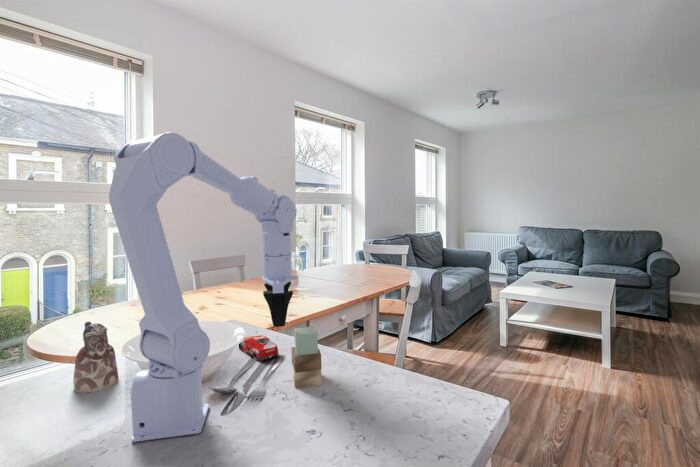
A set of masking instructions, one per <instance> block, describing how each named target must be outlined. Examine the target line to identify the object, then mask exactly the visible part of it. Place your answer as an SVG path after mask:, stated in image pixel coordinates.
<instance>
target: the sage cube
mask: <svg viewBox="0 0 700 467" xmlns="http://www.w3.org/2000/svg"><path fill="white" fill-rule="evenodd" d="M293 331H294V334H293V335H294V347H295V350H296V355H297V356H299V355H308V354H317V353H318V349H319V345H318V344H319V343H318V342H319V341H318V340H319V339H318V338H319V337H318V331H317V329H316V326H307V327H306V326H305V327H295V328H294V330H293Z"/></svg>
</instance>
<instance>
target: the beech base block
mask: <svg viewBox="0 0 700 467" xmlns="http://www.w3.org/2000/svg"><path fill="white" fill-rule="evenodd" d="M292 376H293V382H294V388H295V389H297V388H305V387H314V386H322V368H321V369H319V370H312V371H305V372H297V373H295V371H294V367H293V366H292Z"/></svg>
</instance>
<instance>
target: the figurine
mask: <svg viewBox="0 0 700 467" xmlns="http://www.w3.org/2000/svg"><path fill="white" fill-rule="evenodd" d="M107 332H108V328H107V327H105V326H104V325H103V324H101V323H99V322H97V323H92V322H91V321H86V322H85V323H84V330H83V332H82V341H83V343H84V345H83V347H81V348H80V349H79V351H78V352H77V354H76V356H75V359H74V368H73V369H74V371H73V379H72V380H73V390H74V391H75V392H76V393H82V392H83V393H97V392H100V391H102V390H106V389H108V388H110V387H112V386H113V385H116V383H117V382H118V381H119V369H118V366H117V358H116V351H115V348H114V347H113V345H111V344H109V338H108V333H107Z"/></svg>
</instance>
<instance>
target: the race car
mask: <svg viewBox="0 0 700 467" xmlns="http://www.w3.org/2000/svg"><path fill="white" fill-rule="evenodd" d="M243 338H244V340H243V341H242V342H241V343H240V344H239V346H238V350H240V351H241V350H242V351H243V353H246V354H247V355H249V356H250V357H251V356H254V357H255V358H256V359H257V360H256V361H265V360H264V359H266V358H269V357H274V356H276V355H278V356H279V348H278V345H277V344H276V343H274V342H273V341H272V340H271V339H270V338H269V337H267V336H265V335H262V334H261V335H257V336H256V335H250V336H245V337H243ZM274 358H275V357H274Z"/></svg>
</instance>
